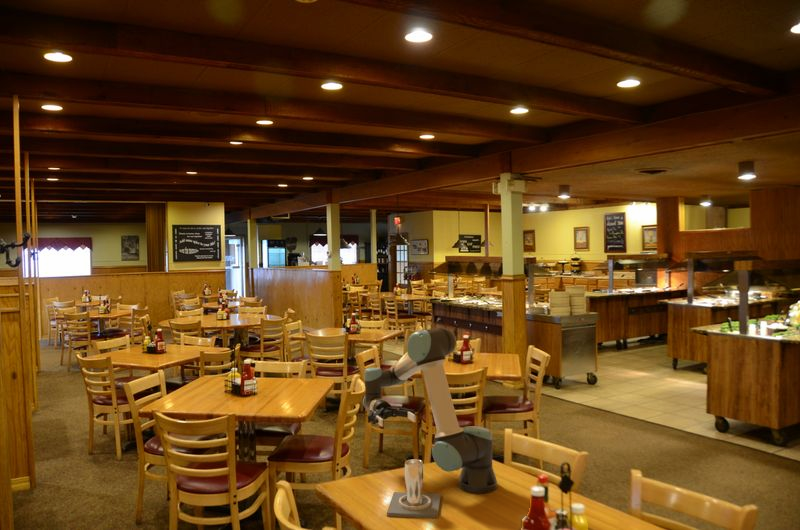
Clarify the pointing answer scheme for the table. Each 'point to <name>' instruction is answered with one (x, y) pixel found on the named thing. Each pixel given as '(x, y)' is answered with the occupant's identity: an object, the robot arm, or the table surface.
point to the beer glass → (414, 481)
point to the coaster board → (423, 511)
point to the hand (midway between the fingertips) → (398, 420)
